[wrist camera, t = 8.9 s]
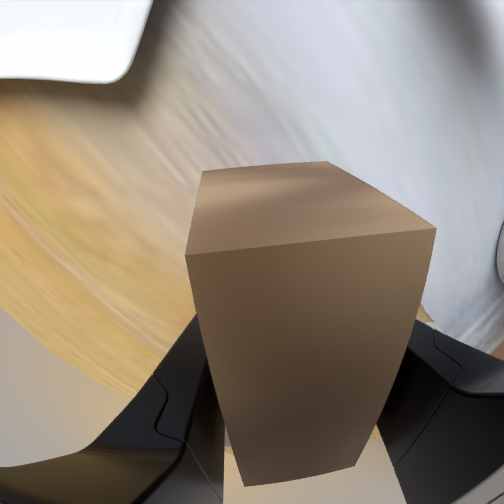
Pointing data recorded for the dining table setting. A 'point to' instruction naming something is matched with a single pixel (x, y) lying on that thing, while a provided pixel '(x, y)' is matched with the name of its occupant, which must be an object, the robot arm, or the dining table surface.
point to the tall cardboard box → (302, 310)
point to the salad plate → (70, 39)
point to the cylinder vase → (501, 256)
